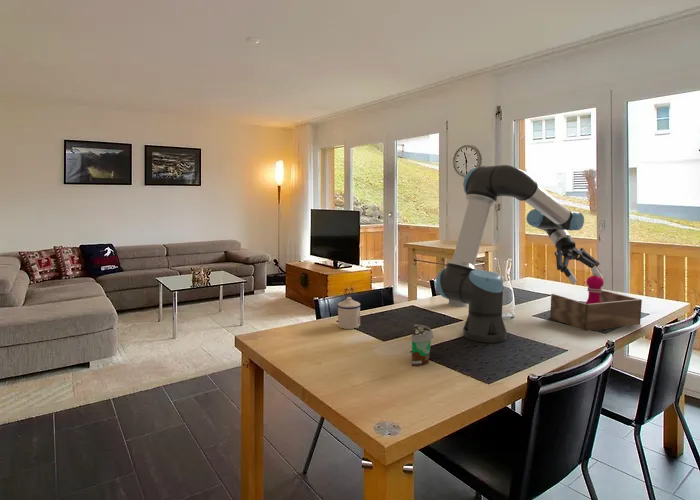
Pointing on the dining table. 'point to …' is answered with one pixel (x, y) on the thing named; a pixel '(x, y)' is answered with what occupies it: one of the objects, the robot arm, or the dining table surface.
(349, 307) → the teacup with lid
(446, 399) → the dining table surface
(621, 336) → the dining table surface
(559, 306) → the open-sided box
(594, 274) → the pepper mill
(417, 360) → the food container
